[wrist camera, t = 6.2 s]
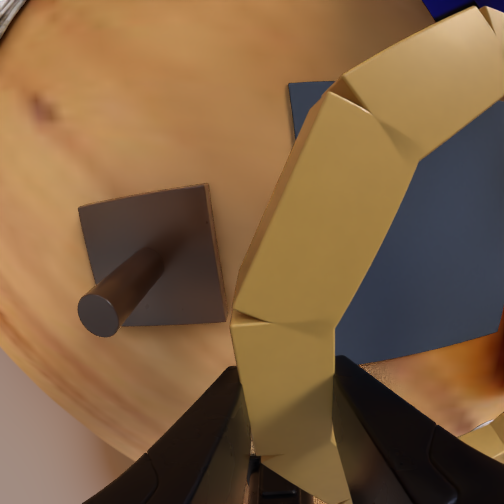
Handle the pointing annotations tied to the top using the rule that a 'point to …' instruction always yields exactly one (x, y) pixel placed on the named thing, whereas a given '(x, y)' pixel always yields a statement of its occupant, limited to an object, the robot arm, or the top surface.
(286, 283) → the hoop
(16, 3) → the dish towel
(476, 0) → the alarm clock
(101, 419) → the top surface
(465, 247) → the felt mat
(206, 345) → the top surface
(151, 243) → the peg stand
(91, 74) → the top surface
